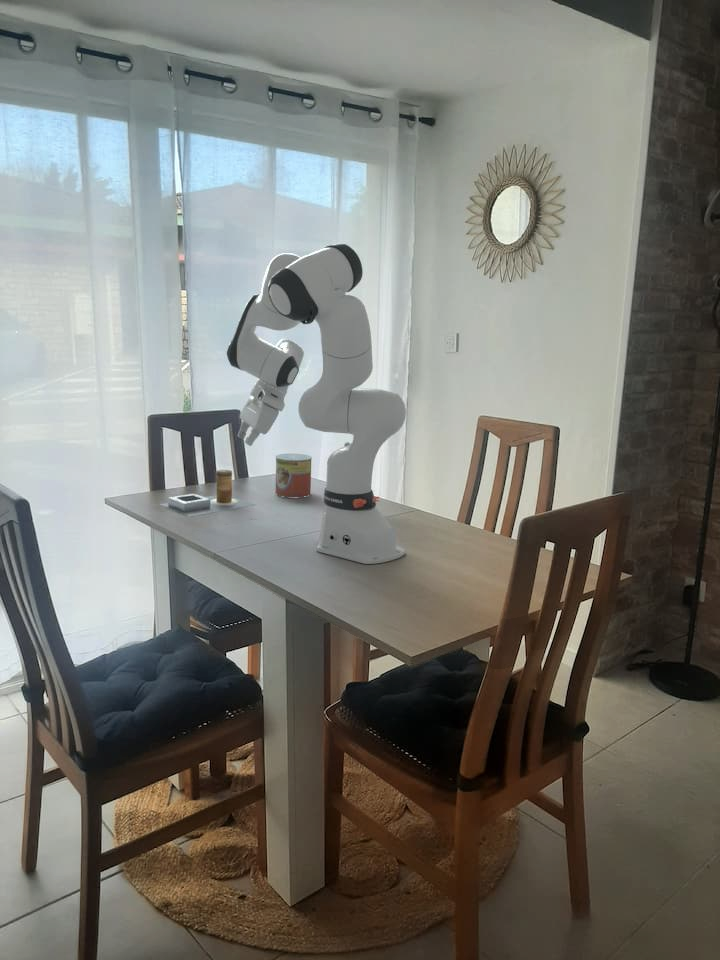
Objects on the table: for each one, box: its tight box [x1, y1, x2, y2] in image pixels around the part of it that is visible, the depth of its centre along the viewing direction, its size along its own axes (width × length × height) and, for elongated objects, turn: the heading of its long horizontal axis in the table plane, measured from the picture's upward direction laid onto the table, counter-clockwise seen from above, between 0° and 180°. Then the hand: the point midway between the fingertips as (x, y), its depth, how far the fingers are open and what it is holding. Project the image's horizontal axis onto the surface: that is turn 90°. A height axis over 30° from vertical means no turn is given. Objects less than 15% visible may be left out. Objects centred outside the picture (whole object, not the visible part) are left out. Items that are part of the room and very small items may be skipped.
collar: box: [167, 493, 210, 512], centre depth 204 cm, size 8×8×2 cm
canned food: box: [274, 453, 313, 498], centre depth 229 cm, size 11×11×12 cm
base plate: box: [159, 494, 256, 518], centre depth 208 cm, size 16×22×1 cm
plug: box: [216, 469, 233, 503], centre depth 211 cm, size 4×4×9 cm
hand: (243, 441), depth 199 cm, fingers open, 8 cm apart
